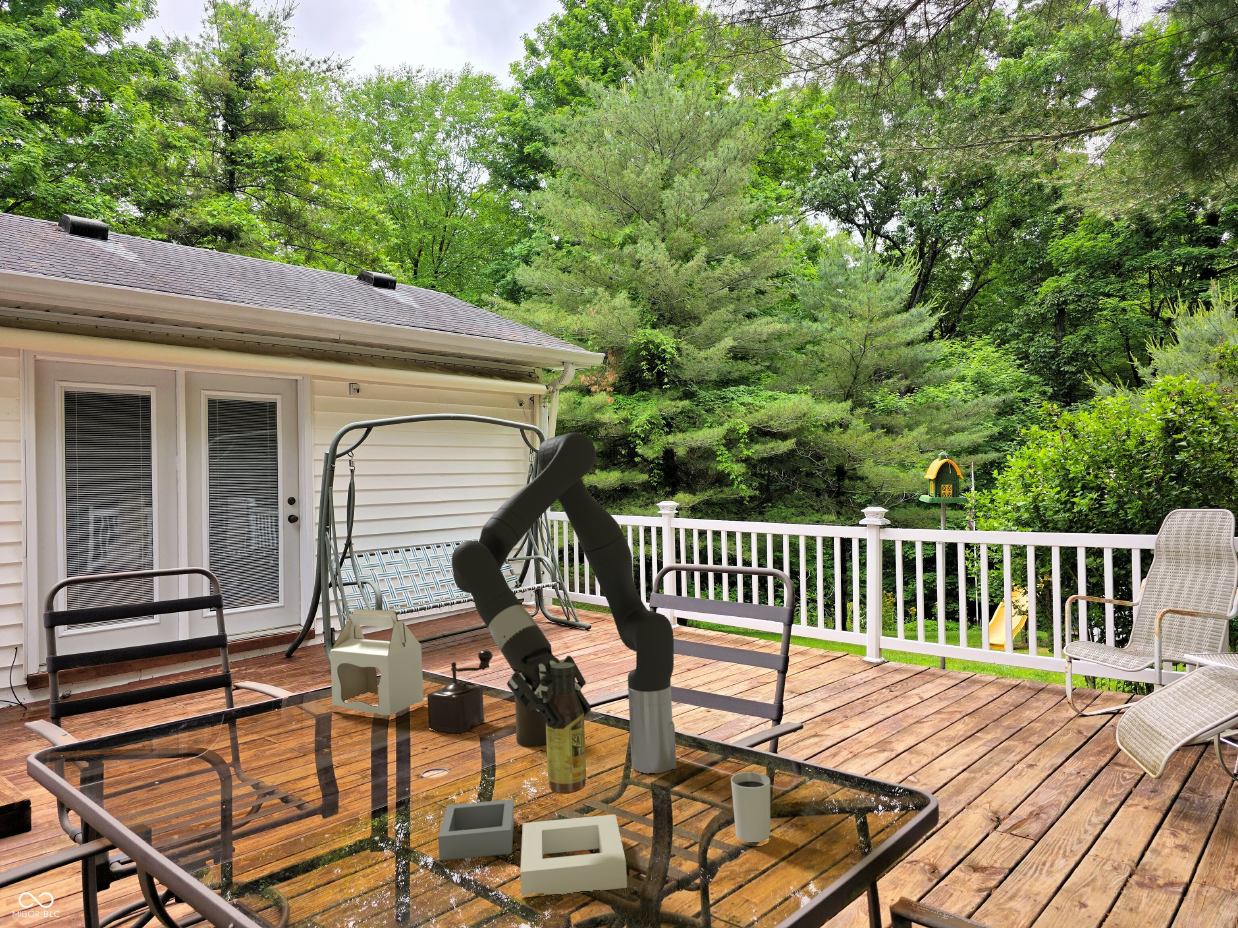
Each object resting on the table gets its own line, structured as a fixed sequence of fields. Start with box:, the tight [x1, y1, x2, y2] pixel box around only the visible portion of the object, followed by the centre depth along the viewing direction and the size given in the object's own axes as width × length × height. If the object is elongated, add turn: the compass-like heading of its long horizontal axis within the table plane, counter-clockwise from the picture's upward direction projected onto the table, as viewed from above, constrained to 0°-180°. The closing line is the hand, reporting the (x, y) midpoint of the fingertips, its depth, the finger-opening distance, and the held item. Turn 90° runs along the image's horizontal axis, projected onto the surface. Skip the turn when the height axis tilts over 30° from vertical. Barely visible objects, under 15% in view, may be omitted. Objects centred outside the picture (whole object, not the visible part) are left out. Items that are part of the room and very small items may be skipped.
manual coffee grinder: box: [427, 649, 494, 736], centre depth 196 cm, size 16×11×18 cm
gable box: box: [329, 608, 425, 715], centre depth 212 cm, size 22×13×28 cm, turn 63°
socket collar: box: [519, 814, 628, 897], centre depth 122 cm, size 16×16×4 cm
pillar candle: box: [514, 685, 553, 748], centre depth 181 cm, size 10×10×15 cm
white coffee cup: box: [730, 771, 771, 842], centre depth 128 cm, size 7×7×10 cm
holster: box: [437, 799, 515, 862], centre depth 132 cm, size 12×12×4 cm
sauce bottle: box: [546, 662, 587, 795], centre depth 122 cm, size 7×6×20 cm
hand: (573, 719), depth 121 cm, fingers closed on sauce bottle, 6 cm apart
